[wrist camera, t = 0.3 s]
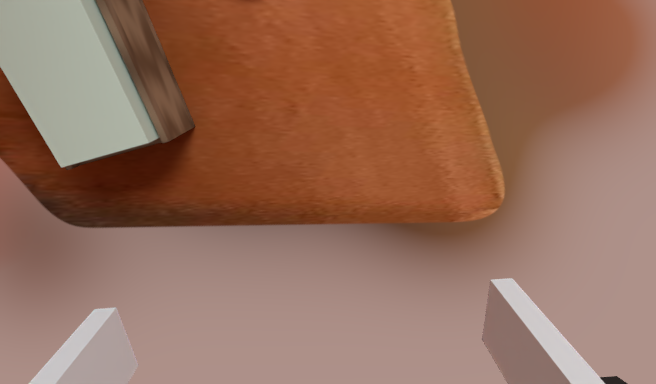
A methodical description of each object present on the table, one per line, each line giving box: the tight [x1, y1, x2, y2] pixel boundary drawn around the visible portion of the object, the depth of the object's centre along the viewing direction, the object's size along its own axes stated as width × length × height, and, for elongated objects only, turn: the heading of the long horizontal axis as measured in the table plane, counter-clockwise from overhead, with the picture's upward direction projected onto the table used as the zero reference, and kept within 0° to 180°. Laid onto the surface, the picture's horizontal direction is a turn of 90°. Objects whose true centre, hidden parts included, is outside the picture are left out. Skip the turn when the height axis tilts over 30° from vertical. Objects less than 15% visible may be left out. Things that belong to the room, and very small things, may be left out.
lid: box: [0, 0, 160, 168], centre depth 27 cm, size 13×8×2 cm, turn 15°
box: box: [65, 0, 195, 170], centre depth 31 cm, size 14×10×7 cm
